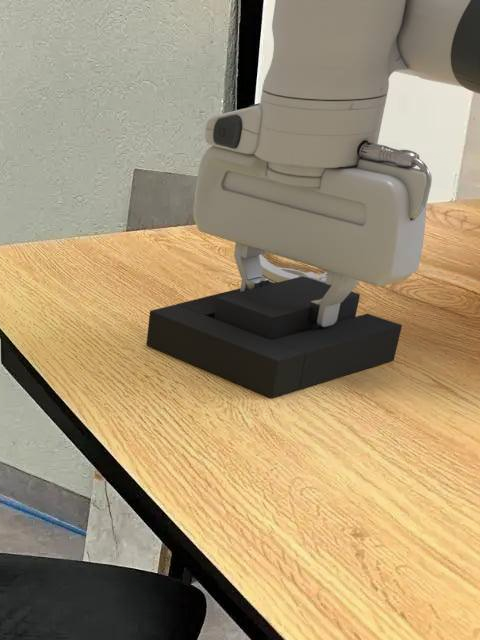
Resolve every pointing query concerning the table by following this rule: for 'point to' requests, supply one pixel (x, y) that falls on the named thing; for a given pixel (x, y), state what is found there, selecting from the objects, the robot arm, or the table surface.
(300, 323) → the black block
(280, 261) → the table surface
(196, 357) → the black u-shaped frame
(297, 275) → the pliers
